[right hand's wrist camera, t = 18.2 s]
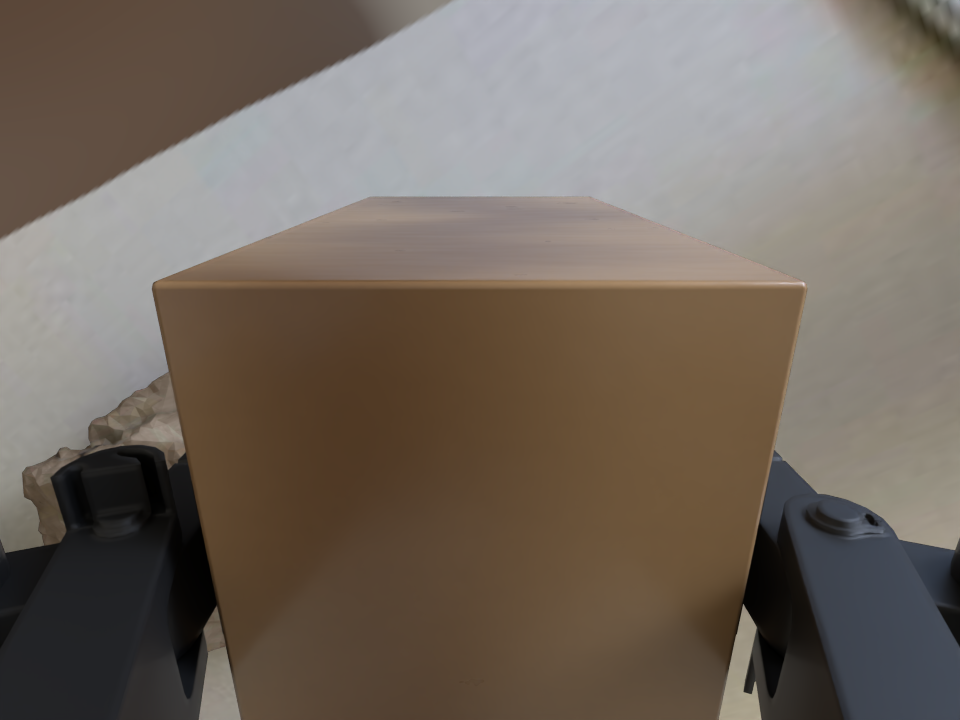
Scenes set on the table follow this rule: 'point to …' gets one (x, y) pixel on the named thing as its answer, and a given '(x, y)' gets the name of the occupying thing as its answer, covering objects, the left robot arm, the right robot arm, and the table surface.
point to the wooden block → (479, 457)
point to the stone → (130, 423)
